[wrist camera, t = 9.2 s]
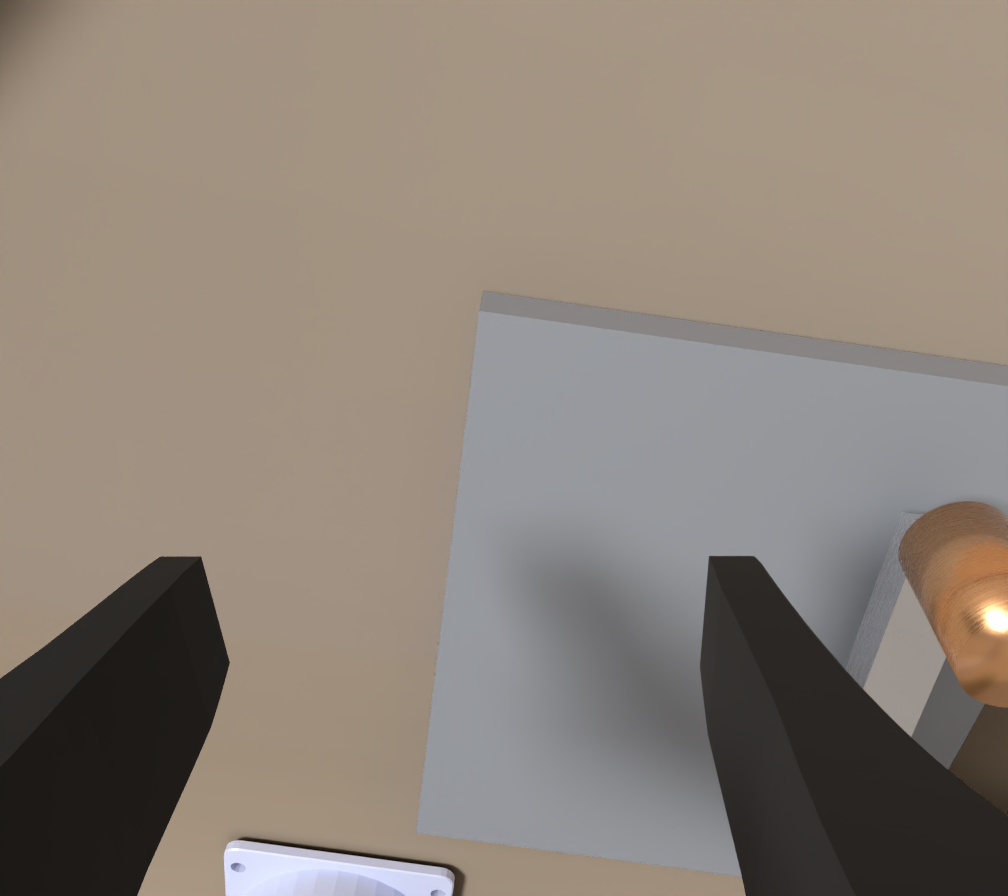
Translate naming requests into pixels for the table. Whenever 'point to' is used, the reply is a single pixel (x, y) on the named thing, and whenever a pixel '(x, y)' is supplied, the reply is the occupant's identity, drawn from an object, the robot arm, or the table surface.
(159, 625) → the robot arm
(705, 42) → the table surface
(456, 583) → the base
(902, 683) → the lever
